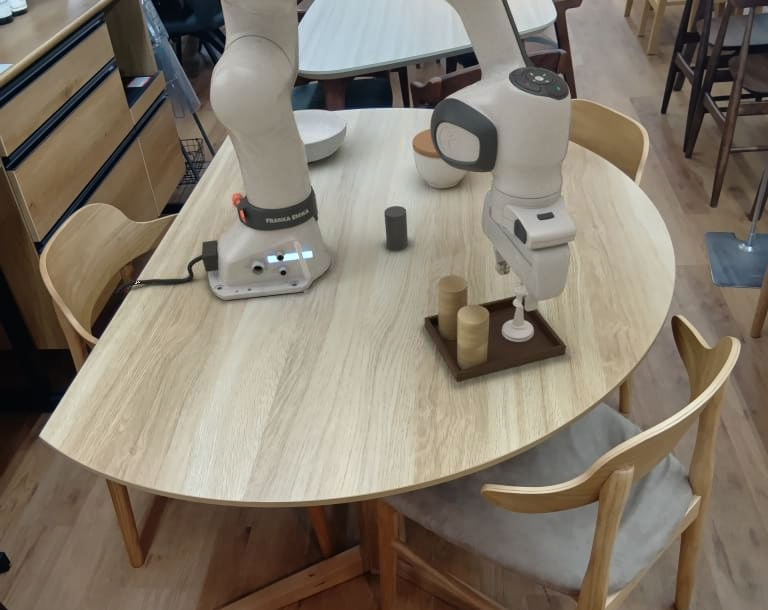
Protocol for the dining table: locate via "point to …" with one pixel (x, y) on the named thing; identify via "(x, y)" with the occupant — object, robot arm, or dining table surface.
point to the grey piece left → (396, 227)
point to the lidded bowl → (433, 163)
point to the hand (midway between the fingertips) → (515, 289)
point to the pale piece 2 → (472, 336)
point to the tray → (501, 342)
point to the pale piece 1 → (450, 304)
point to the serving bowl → (320, 132)
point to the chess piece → (518, 319)
